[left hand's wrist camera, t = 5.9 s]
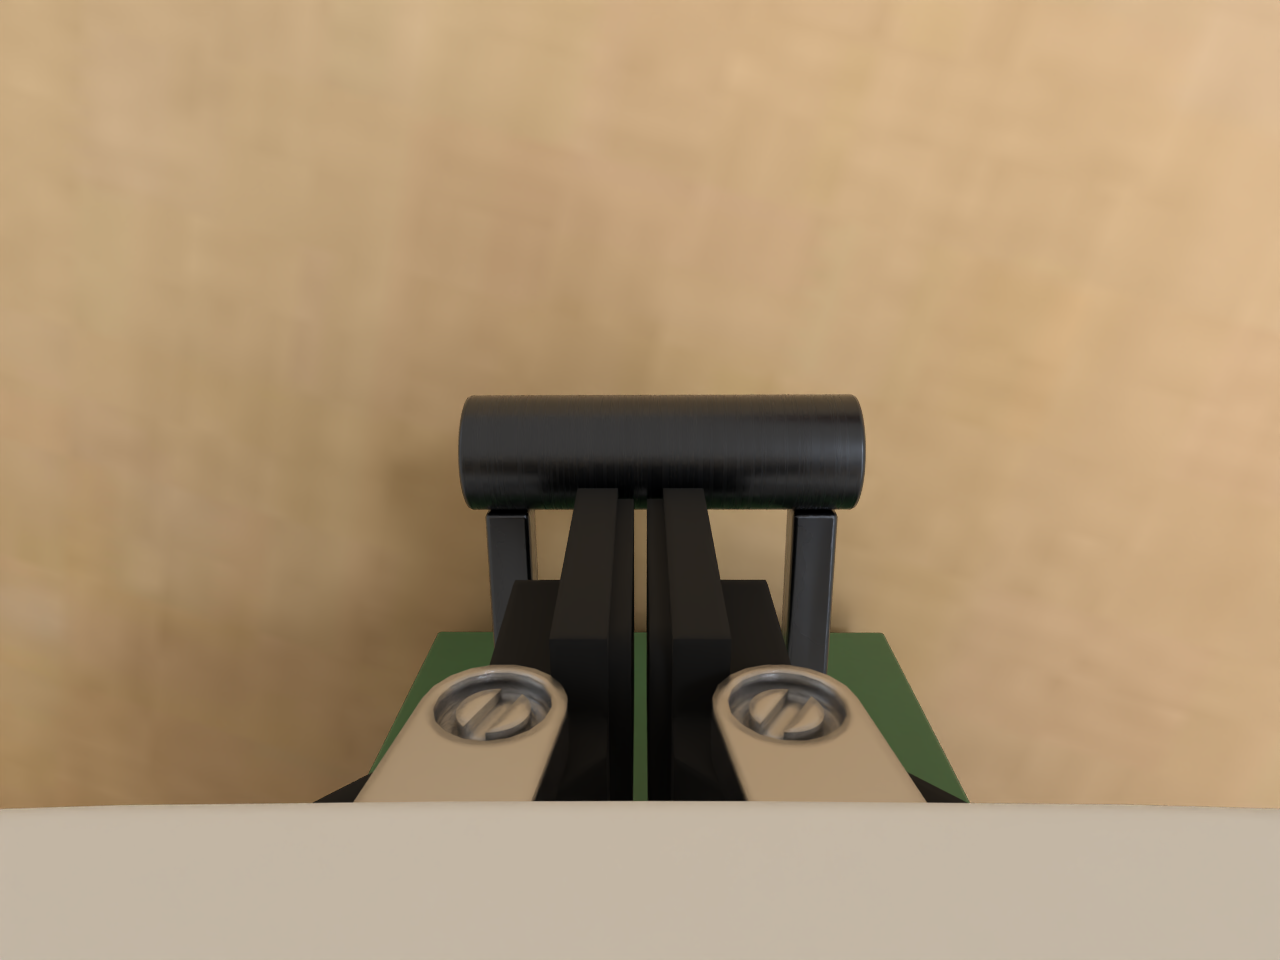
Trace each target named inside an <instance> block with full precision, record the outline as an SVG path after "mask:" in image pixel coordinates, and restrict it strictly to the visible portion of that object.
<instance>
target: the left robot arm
mask: <svg viewBox="0 0 1280 960" xmlns="http://www.w3.org/2000/svg"><path fill="white" fill-rule="evenodd" d="M646 693H647V791H648V801H633V764H634V499H618V488H578V489H577V494H576V499H575V505H574V510H573V515H572V521H571V526H570V531H569V537H568V542H567V547H566V552H565V558H564V563H563V568H562V574H561V579H560V580H515V582H514V584H513V587H512V590H511V594H510V597H509V600H508V604H507V607H506V611H505V614H504V617H503V621H502V624H501V627H500V631H499V634H498V638H497V641H496V644H495V648H494V651H493V654H492V658H491V661H490V665H489V666H483V667H477V668H471V669H468V670H465V671H462V672H460V673H457V674H454V675H451V676H449V677H448V678H446V679H444V680H443V681H441V682H439V683H438V684H436V685H434V686H433V687H432V688H431V689H430V690H429V691H428V692H427V694H426V695H425V696H424V697H423V698H422V699H421V701H420V702H419V704H418V705H417V707H416V708H415V710H414V711H413V713H412V714H411V716H410V717H409V719H408V720H407V722H406V723H405V725H404V726H403V728H402V729H401V731H400V732H399V734H398V735H397V737H396V738H395V740H394V741H393V743H392V744H391V746H390V747H389V749H388V750H387V752H386V753H385V755H384V756H383V758H382V760H381V761H380V763H379V764H378V766H377V767H376V769H375V770H374V772H372V773H370V774H368V775H366V776H364V777H362V778H360V779H359V780H357V781H355V782H353V783H351V784H349V785H347V786H345V787H343V788H341V789H339V790H337V791H335V792H333V793H331V794H329V795H327V796H325V797H323V798H321V799H319V800H317V801H315V802H313V803H272V804H180V805H110V806H78V807H46V808H15V809H0V960H1280V809H1271V808H1234V807H1197V806H1160V805H1124V804H1012V803H967V802H965V801H963V800H961V799H959V798H957V797H956V796H954V795H952V794H950V793H948V792H946V791H944V790H942V789H940V788H938V787H936V786H934V785H932V784H930V783H928V782H926V781H924V780H922V779H920V778H918V777H916V776H914V775H912V774H910V773H908V772H906V770H905V769H904V767H903V766H902V764H901V763H900V761H899V760H898V758H897V756H896V755H895V753H894V752H893V750H892V749H891V747H890V746H889V744H888V743H887V741H886V740H885V738H884V737H883V735H882V734H881V732H880V731H879V729H878V728H877V726H876V725H875V723H874V722H873V720H872V719H871V717H870V716H869V714H868V713H867V711H866V710H865V708H864V707H863V705H862V704H861V702H860V701H859V699H858V698H857V697H856V696H855V695H854V694H853V692H852V691H851V690H850V689H849V688H848V687H847V686H846V685H844V684H842V683H841V682H839V681H837V680H836V679H834V678H832V677H831V676H829V675H826V674H823V673H820V672H818V671H815V670H812V669H809V668H803V667H797V666H791V662H790V659H789V655H788V652H787V649H786V645H785V642H784V639H783V635H782V632H781V628H780V625H779V622H778V618H777V615H776V611H775V608H774V605H773V601H772V598H771V594H770V591H769V588H768V584H767V582H766V580H720V575H719V570H718V564H717V559H716V554H715V548H714V543H713V538H712V532H711V527H710V522H709V516H708V511H707V506H706V500H705V495H704V490H703V488H663V499H647V666H646Z"/></svg>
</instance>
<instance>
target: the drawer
mask: <svg viewBox="0 0 1280 960" xmlns="http://www.w3.org/2000/svg"><path fill="white" fill-rule="evenodd" d="M865 461H866V441H865V427H864V420H863V415H862V410H861V407H860V404H859V402H858V400H857V398H856V397H855V396H853V395H520V396H471V397H469V398H467V400H466V402H465V404H464V407H463V410H462V414H461V419H460V427H459V439H458V462H459V475H460V483H461V488H462V493H463V496H464V499H465V502H466V504H467V506H468V507H469V508H471V509H473V510H489V511H488V513H487V515H486V531H487V547H488V562H489V577H490V593H491V608H492V624H493V632H439V633H438V635H437V637H436V639H435V641H434V643H433V645H432V647H431V649H430V651H429V653H428V655H427V657H426V659H425V661H424V663H423V665H422V667H421V669H420V671H419V673H418V675H417V677H416V679H415V681H414V683H413V685H412V687H411V689H410V691H409V693H408V695H407V697H406V699H405V701H404V703H403V705H402V707H401V709H400V711H399V713H398V715H397V717H396V719H395V721H394V723H393V725H392V727H391V729H390V731H389V733H388V736H387V738H386V740H385V742H384V744H383V746H382V748H381V750H380V752H379V754H378V756H377V758H376V760H375V762H374V764H373V766H372V768H371V770H370V772H369V774H370V773H372V772H374V770H375V769H376V767H377V766H378V764H379V763H380V761H381V760H382V758H383V756H384V755H385V753H386V752H387V750H388V749H389V747H390V746H391V744H392V743H393V741H394V740H395V738H396V737H397V735H398V734H399V732H400V731H401V729H402V728H403V726H404V725H405V723H406V722H407V720H408V719H409V717H410V716H411V714H412V713H413V711H414V710H415V708H416V707H417V705H418V704H419V702H420V701H421V699H422V698H423V697H424V696H425V695H426V694H427V692H428V691H429V690H430V689H431V688H432V687H433V686H434V685H436V684H438V683H439V682H441V681H443V680H444V679H446V678H448V677H449V676H451V675H454V674H457V673H460V672H462V671H465V670H468V669H471V668H477V667H483V666H489V665H490V661H491V658H492V654H493V651H494V648H495V644H496V641H497V638H498V634H499V631H500V627H501V624H502V621H503V617H504V614H505V611H506V607H507V604H508V600H509V597H510V594H511V590H512V587H513V584H514V582H515V580H538V568H537V546H536V525H535V510H574V505H575V499H576V494H577V489H578V488H618V499H634V509H647V499H663V488H703V490H704V495H705V500H706V506H707V509H787V529H786V550H785V571H784V593H783V614H782V635H783V639H784V642H785V645H786V649H787V652H788V655H789V659H790V662H791V666H797V667H803V668H809V669H812V670H815V671H818V672H820V673H823V674H826V675H829V676H831V677H832V678H834V679H836V680H837V681H839V682H841V683H842V684H844V685H846V686H847V687H848V688H849V689H850V690H851V691H852V692H853V694H854V695H855V696H856V697H857V698H858V699H859V701H860V702H861V704H862V705H863V707H864V708H865V710H866V711H867V713H868V714H869V716H870V717H871V719H872V720H873V722H874V723H875V725H876V726H877V728H878V729H879V731H880V732H881V734H882V735H883V737H884V738H885V740H886V741H887V743H888V744H889V746H890V747H891V749H892V750H893V752H894V753H895V755H896V756H897V758H898V760H899V761H900V763H901V764H902V766H903V767H904V769H905V770H906V772H908V773H910V774H912V775H914V776H916V777H918V778H920V779H922V780H924V781H926V782H928V783H930V784H932V785H934V786H936V787H938V788H940V789H942V790H944V791H946V792H948V793H950V794H952V795H954V796H956V797H957V798H959V799H961V800H963V801H965V802H967V803H970V802H969V800H968V798H967V796H966V794H965V792H964V790H963V788H962V786H961V785H960V783H959V781H958V779H957V777H956V775H955V773H954V771H953V769H952V767H951V765H950V763H949V761H948V759H947V757H946V755H945V753H944V751H943V749H942V747H941V745H940V744H939V742H938V740H937V738H936V736H935V734H934V732H933V730H932V728H931V726H930V724H929V722H928V720H927V718H926V716H925V714H924V712H923V710H922V708H921V706H920V704H919V703H918V701H917V699H916V697H915V695H914V693H913V691H912V689H911V687H910V685H909V683H908V681H907V679H906V677H905V675H904V673H903V671H902V669H901V667H900V665H899V663H898V662H897V660H896V658H895V656H894V654H893V652H892V650H891V648H890V646H889V644H888V642H887V640H886V638H885V636H884V634H882V633H830V624H831V609H832V594H833V579H834V563H835V548H836V533H837V518H838V517H837V514H836V512H835V510H834V509H852V508H854V507H855V506H856V505H857V503H858V501H859V498H860V495H861V492H862V487H863V482H864V474H865ZM646 666H647V632H634V764H633V801H648V791H647V693H646Z"/></svg>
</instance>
